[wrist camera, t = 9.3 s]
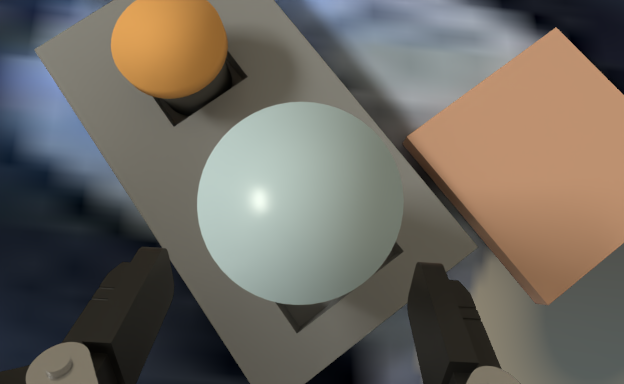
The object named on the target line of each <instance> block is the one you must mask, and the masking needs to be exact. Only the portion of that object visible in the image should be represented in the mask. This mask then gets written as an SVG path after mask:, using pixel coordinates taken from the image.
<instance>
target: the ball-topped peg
mask: <svg viewBox="0 0 624 384" xmlns="http://www.w3.org/2000/svg"><path fill="white" fill-rule="evenodd" d="M403 204H404V197H403V187H402V182H401V178H400V174H399V171H398V168H397V165H396V163H395V160H394V158H393V157H392V155H391V153H390V151H389V149H388V148H387V146H386V145H385V144H384V142H383V141H382V139H381V138H380V137H379V136H378V135H377V134H376V133H375V132H374V131H373V130H372V129H371V128H370V127H369V126H367V125H366V124H365V123H364V122H363V121H361V120H360V119H358V118H356V117H355V116H353V115H352V114H350V113H348V112H345V111H343V110H341V109H339V108H336V107H332V106H329V105H325V104H320V103H315V102H288V103H283V104H277V105H274V106H271V107H267V108H264V109H262V110H260V111H257V112H255V113H253V114H251V115H250V116H248V117H246V118H245V119H243V120H241V121H240V122H239V123H238V124H236V125H235V126H234V127H232V128H231V129H230V130H229V131H228V132H227V133H226V134H225V135H224V136H223V137H222V139H221V140H220V141H219V142H218V144H217V145H216V146H215V148H214V149H213V151H212V153H211V154H210V156H209V158H208V160H207V162H206V165H205V167H204V169H203V172H202V175H201V179H200V182H199V188H198V195H197V213H198V221H199V226H200V230H201V234H202V237H203V239H204V242H205V244H206V247H207V249H208V251H209V252H210V254H211V256H212V258H213V259H214V261H215V262H216V263H217V265H218V266H219V267H220V269H221V270H222V271H223V272H224V273H225V274H226V275H227V276H228V277H229V278H230V279H231V280H232V281H234V282H235V283H236V284H238V285H239V286H240V287H242V288H243V289H245V290H247V291H248V292H250V293H252V294H254V295H256V296H258V297H261V298H264V299H266V300H269V301H273V302H277V303H282V304H292V305H307V304H316V303H321V302H326V301H329V300H332V299H335V298H338V297H340V296H342V295H345V294H347V293H349V292H351V291H352V290H354V289H355V288H357V287H358V286H360V285H361V284H363V283H364V282H365V281H366V280H368V279H369V278H370V277H371V276H372V275H373V274H374V273H375V272H376V271H377V270H378V269H379V268H380V266H381V265H382V264H383V263H384V261H385V260H386V258H387V257H388V255H389V254H390V252H391V250H392V248H393V246H394V244H395V242H396V240H397V237H398V233H399V230H400V227H401V222H402V217H403Z"/></svg>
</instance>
